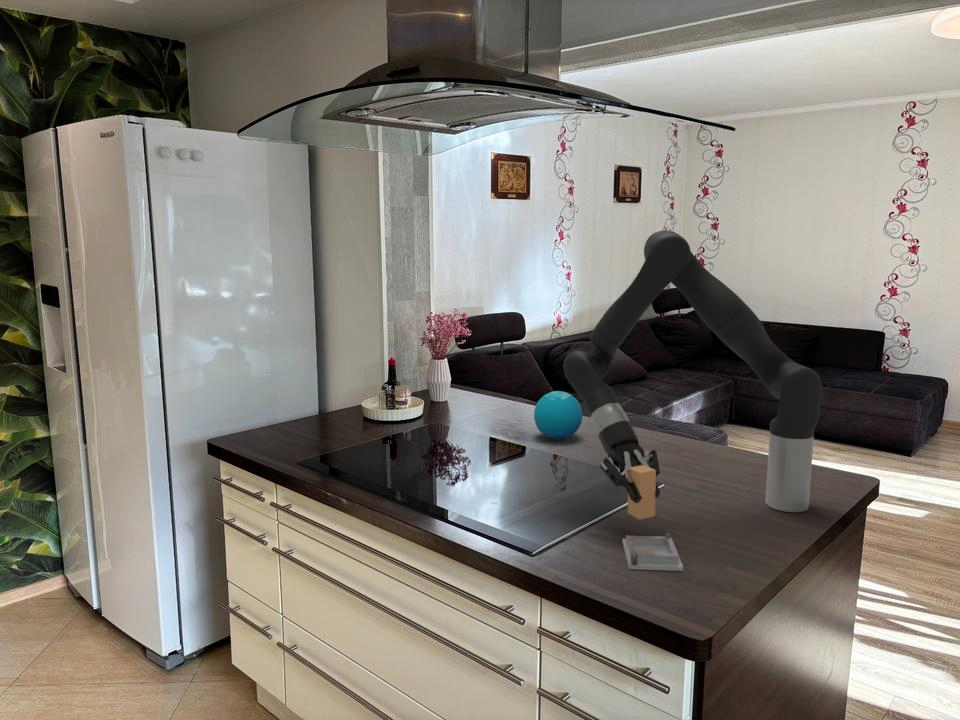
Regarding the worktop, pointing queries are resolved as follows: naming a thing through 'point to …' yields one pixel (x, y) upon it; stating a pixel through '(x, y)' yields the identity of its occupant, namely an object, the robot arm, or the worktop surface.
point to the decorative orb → (558, 415)
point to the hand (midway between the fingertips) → (647, 498)
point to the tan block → (643, 492)
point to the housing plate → (651, 553)
